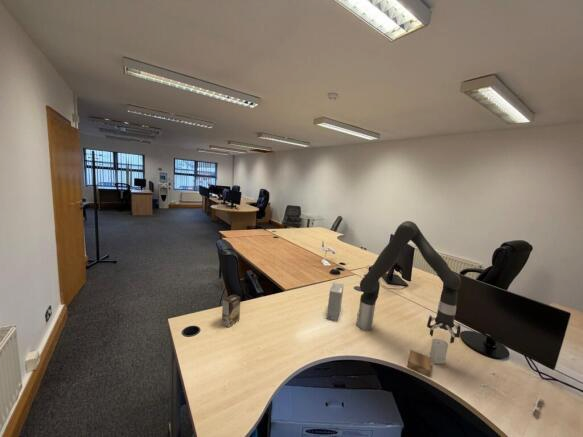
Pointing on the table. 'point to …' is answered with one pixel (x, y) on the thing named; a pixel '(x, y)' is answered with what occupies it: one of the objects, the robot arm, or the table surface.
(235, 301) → the coffee box
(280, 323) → the table surface
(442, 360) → the skincare box
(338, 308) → the hard drive box
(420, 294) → the table surface
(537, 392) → the eyeglasses
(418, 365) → the walnut block
